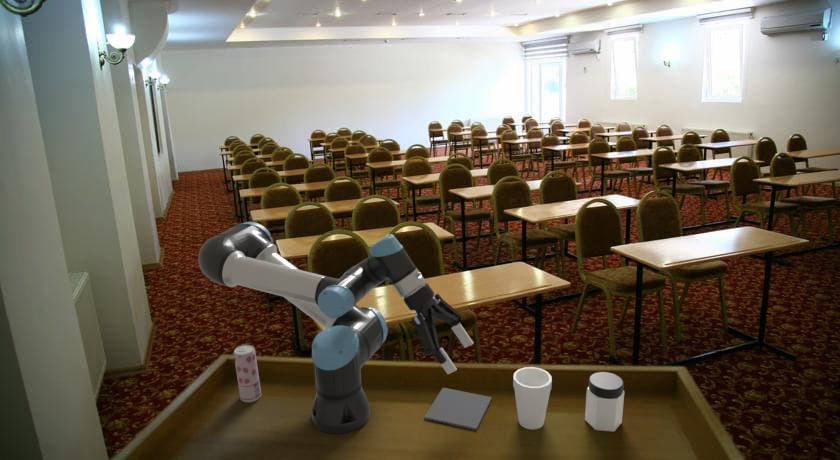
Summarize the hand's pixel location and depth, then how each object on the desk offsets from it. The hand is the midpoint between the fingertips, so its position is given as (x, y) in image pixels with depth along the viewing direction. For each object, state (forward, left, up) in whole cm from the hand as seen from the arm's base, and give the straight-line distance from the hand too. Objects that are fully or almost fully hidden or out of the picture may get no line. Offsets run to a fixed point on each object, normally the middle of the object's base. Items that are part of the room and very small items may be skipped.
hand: (461, 358), depth 156 cm
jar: (+35, +7, -15) cm, 39 cm away
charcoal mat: (-1, 0, -15) cm, 15 cm away
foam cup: (+18, +1, -15) cm, 24 cm away
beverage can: (-57, -14, -15) cm, 61 cm away
